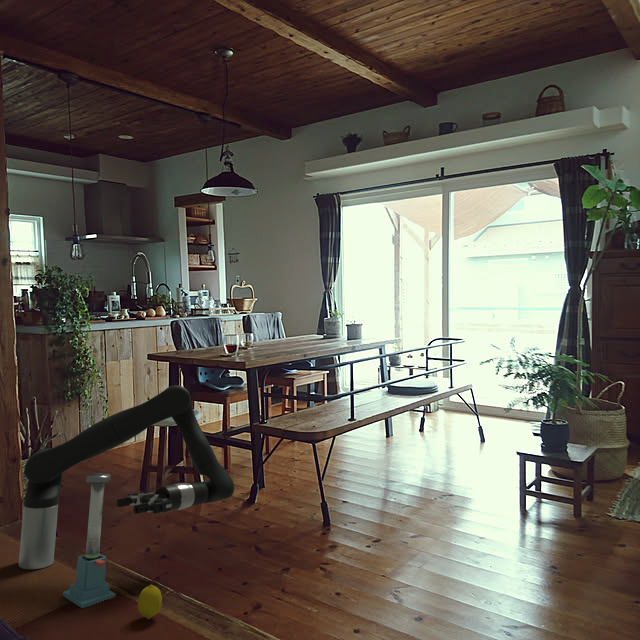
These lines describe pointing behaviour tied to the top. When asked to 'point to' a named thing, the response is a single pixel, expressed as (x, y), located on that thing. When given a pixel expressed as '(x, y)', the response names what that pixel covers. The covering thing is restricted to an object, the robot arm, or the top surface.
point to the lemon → (149, 601)
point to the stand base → (89, 583)
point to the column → (95, 513)
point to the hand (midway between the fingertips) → (125, 506)
